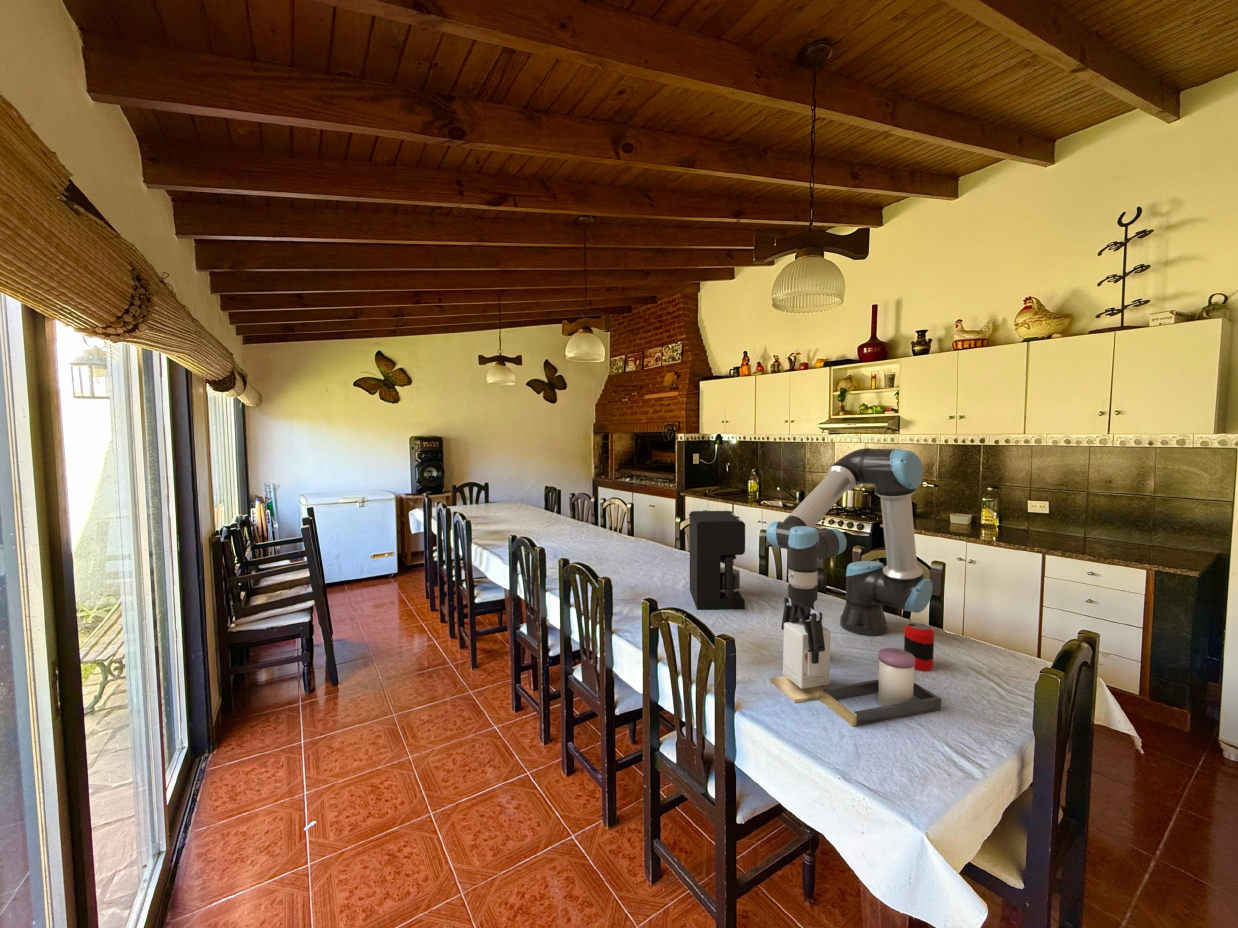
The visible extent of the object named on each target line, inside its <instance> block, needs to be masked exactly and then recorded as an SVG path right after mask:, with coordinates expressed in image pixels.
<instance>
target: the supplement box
mask: <svg viewBox="0 0 1238 928" xmlns="http://www.w3.org/2000/svg"><path fill="white" fill-rule="evenodd" d="M810 620H811V619H809V620H805V621H810ZM822 628H823V636H824V644H825V651H821V652H819V663H818V674H813V675H808V674H807V656H808V650H810V648H809V644H808V634H807V633H806V632H805V628H804V625H803V624H802V623H801V620H800V621H799V622H796V623H790V622H787V623H784V630H783V645H782V646H783V647H782V648H783V649H782V652H783V653H782V654H783V655H782V675H783V676H786V677H787V678H789V679H790V680H791V681H792V682H794V683H795V684H796V685H797V686H799V687H800V688H801V689H803V688H809V687H815V686H821V685H824V686H826V685H830V678H831V677H830V673H831V672H830V670H831V663H830V662H831V635H832V632H831V630H830V629H829V628H826V627H825V626H823V625H822ZM813 647H814V645H813Z"/></svg>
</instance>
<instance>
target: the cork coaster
mask: <svg viewBox="0 0 1238 928" xmlns="http://www.w3.org/2000/svg"><path fill="white" fill-rule="evenodd" d="M769 682H770V683H771V684H772V685H774V686H775V688H777V689H778V690H779V691H781V692H782V693H783V694H784V695H785V696H786V697H787V698H789V699H790V700H791V701H792V702H793V703H794V704H795V703H801V702H806V701H811V700H812V701H814V700H818V699H819V700H820V691H823V689H824V688H828V687H827V686H826V685H821V686H815V687H809V688H803V689H801V688H800V687H799V686H797V685H796V684H795V683H794V682H792V681H791V680H790V679H789V678H787V677H786V676H785V675H782V676H781V675H780V676H775V677H770V678H769Z"/></svg>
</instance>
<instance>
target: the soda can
mask: <svg viewBox="0 0 1238 928" xmlns="http://www.w3.org/2000/svg"><path fill="white" fill-rule="evenodd" d="M903 636H904V637H903V639H904V640H903V650H904V651H907V652H909V653H911V654H912V655H914V657H915V665H914V671H915V670H916V671H922V672H928V671H931V670H932V669H933V668H934V645H935V632H934V631H933V629H932V628H931V626H930V625H928V624H925V623H921V622H909V623H908V624H907V625H906V626H905V627H904V635H903Z"/></svg>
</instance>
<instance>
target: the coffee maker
mask: <svg viewBox="0 0 1238 928" xmlns="http://www.w3.org/2000/svg"><path fill="white" fill-rule="evenodd" d="M688 517H689V592H690V595H691V597H692V600H693V602H694V607H695V608H696V610H697V611H706V610H707V611H712V610H714V611H715V610H716V611H718V610H720V611H721V610H724V611H725V610H726V611H728V610H737V611H738V610H739V611H740V610H742V611H743V610H745V607H746V601H745V598H744V597H743V596H742V593H741V592H740V589H741V571H740V569H737V568H734V564H733V563H734V562H733V560H736V559H737V556H742V555H744V554H745V553H746V523H745V522H744V521H743V520H742V519H741V518H740V516H737V515H736V514H735V513H734V511H732V510H692V511H690V512H689V514H688ZM721 561H724V566H722V567H721ZM737 563H738V564H739V562H737Z"/></svg>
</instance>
